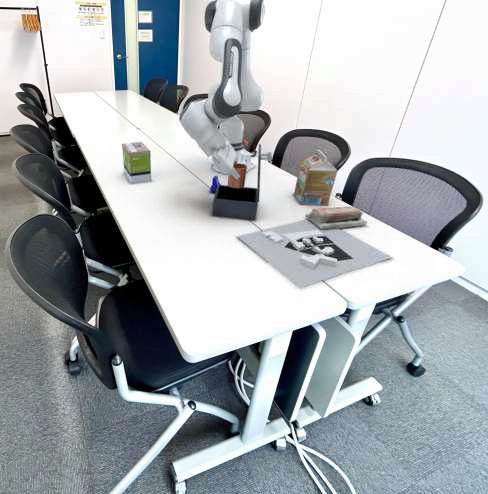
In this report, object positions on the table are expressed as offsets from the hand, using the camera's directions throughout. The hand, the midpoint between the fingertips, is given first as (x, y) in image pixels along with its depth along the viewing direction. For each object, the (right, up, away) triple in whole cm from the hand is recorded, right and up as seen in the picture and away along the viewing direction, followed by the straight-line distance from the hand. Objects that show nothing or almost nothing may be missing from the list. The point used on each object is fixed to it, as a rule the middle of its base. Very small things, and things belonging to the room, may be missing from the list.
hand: (239, 173), depth 121 cm
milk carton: (+33, -7, +16) cm, 37 cm away
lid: (+6, 0, -2) cm, 6 cm away
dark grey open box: (0, -12, +8) cm, 15 cm away
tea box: (-40, +7, +38) cm, 55 cm away
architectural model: (+19, -27, -15) cm, 36 cm away
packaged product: (+34, -18, -1) cm, 38 cm away
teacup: (-1, -4, +2) cm, 4 cm away
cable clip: (-1, -4, +22) cm, 22 cm away
